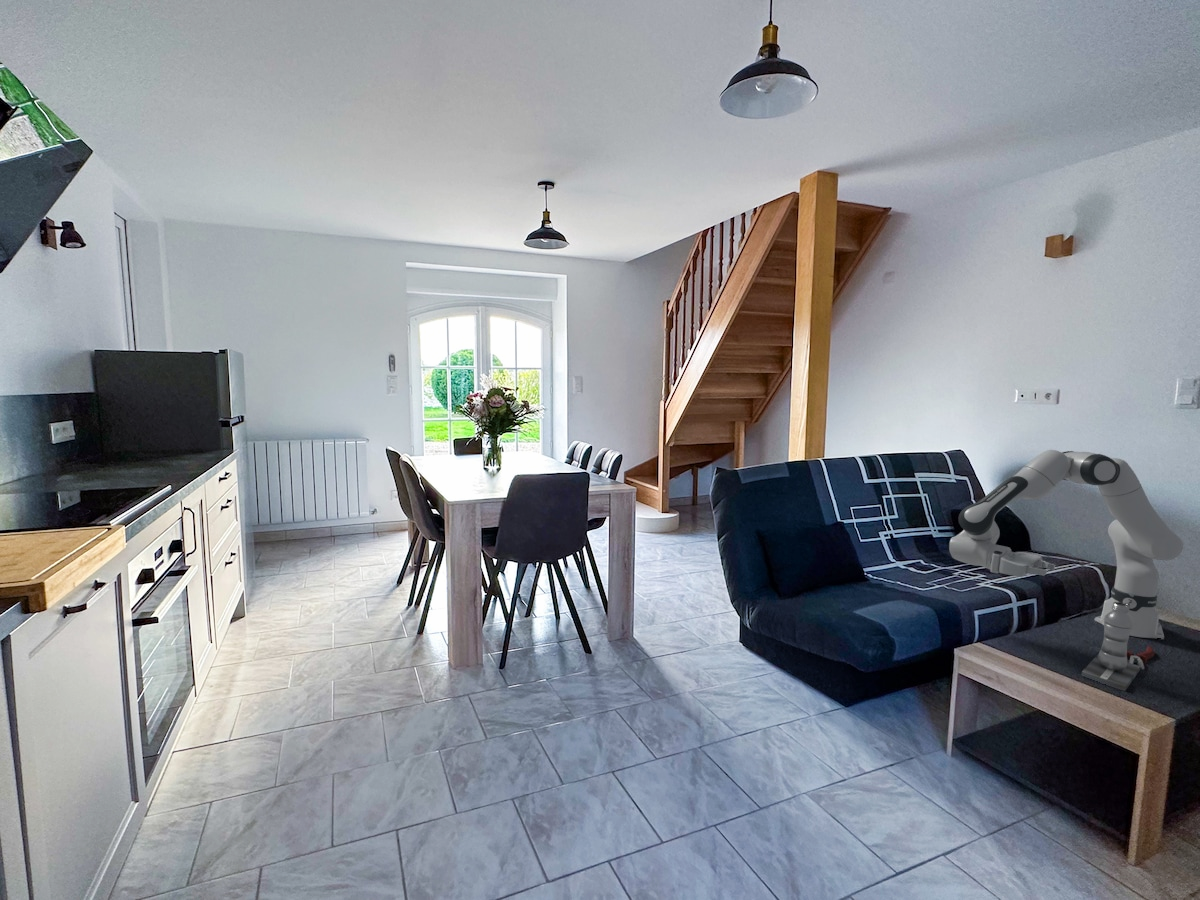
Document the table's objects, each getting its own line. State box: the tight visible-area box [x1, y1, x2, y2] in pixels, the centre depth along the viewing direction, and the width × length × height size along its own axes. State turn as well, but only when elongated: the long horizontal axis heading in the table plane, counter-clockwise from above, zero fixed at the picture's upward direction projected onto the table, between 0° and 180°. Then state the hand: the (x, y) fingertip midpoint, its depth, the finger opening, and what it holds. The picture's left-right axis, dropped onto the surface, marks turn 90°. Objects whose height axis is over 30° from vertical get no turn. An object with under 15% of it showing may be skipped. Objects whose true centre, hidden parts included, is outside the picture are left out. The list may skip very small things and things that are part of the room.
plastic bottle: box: [1097, 602, 1133, 671], centre depth 179 cm, size 6×7×20 cm
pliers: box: [1127, 646, 1155, 670], centre depth 191 cm, size 12×20×3 cm, turn 144°
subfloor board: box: [1080, 653, 1141, 692], centre depth 180 cm, size 20×10×2 cm, turn 129°
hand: (1050, 570), depth 194 cm, fingers open, 8 cm apart
